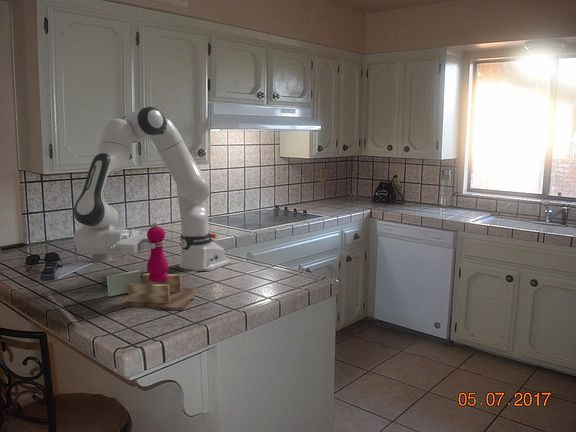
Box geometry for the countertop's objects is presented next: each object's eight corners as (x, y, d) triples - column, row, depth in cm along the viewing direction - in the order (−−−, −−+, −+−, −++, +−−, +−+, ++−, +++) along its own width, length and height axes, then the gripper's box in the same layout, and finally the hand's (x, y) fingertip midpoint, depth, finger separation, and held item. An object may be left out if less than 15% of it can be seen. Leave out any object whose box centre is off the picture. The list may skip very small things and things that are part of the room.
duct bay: (113, 307, 176) (111, 287, 174) (138, 288, 195) (136, 270, 194) (182, 310, 172) (181, 289, 171) (201, 290, 192) (200, 272, 190)
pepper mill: (171, 276, 186) (168, 220, 182) (166, 282, 179) (163, 224, 175) (150, 276, 186) (147, 220, 182) (145, 282, 179) (141, 224, 175)
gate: (108, 295, 184) (106, 276, 183) (140, 288, 191) (138, 270, 190) (109, 296, 183) (108, 277, 182) (141, 289, 190) (140, 270, 188)
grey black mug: (87, 261, 234) (84, 228, 231) (111, 253, 247) (109, 222, 244) (101, 263, 230) (99, 229, 227) (125, 255, 242) (123, 223, 240)
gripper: (105, 240, 171) (146, 241, 169) (132, 227, 191) (169, 228, 189) (106, 258, 172) (147, 260, 170) (133, 244, 192) (170, 245, 190)
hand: (159, 243), depth 180 cm, fingers closed on pepper mill, 5 cm apart
